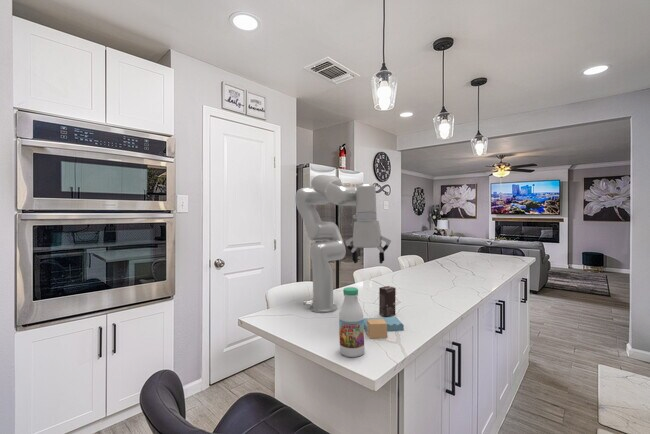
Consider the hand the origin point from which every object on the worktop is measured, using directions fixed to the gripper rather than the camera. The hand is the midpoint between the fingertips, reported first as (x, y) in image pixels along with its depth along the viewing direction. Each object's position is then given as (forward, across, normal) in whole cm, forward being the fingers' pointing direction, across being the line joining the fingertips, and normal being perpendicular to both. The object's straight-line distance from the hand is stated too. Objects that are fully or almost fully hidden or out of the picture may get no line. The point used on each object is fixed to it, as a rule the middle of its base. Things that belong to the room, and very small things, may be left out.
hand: (368, 262), depth 110 cm
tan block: (+25, +3, -4) cm, 26 cm away
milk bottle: (+26, -2, -19) cm, 32 cm away
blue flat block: (+25, +3, +5) cm, 26 cm away
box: (+25, +3, +20) cm, 32 cm away
